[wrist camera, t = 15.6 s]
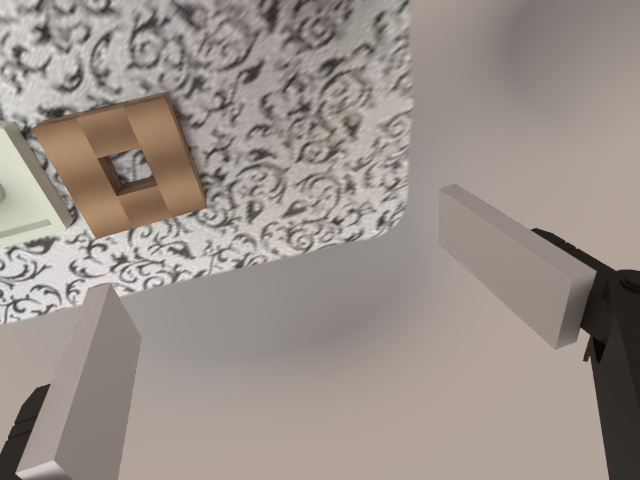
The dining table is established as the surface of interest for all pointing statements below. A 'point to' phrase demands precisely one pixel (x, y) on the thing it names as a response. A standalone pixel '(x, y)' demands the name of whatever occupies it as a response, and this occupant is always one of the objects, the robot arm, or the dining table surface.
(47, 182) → the tray
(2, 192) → the clear capped vial
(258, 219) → the dining table surface
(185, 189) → the block
